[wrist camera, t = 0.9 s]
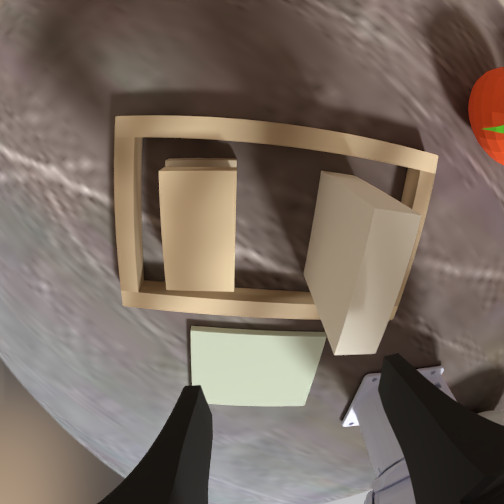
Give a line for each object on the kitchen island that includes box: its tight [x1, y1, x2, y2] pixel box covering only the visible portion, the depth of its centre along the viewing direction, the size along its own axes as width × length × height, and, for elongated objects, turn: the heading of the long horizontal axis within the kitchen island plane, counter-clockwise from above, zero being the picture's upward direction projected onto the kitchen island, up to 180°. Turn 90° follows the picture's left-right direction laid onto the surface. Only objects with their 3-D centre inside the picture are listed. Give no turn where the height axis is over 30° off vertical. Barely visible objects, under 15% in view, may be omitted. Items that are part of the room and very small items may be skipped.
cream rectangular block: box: [303, 171, 422, 355], centre depth 16 cm, size 2×7×8 cm, turn 174°
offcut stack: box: [159, 158, 237, 292], centre depth 18 cm, size 4×7×4 cm, turn 178°
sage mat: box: [191, 326, 327, 406], centre depth 24 cm, size 10×8×1 cm
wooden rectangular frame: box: [114, 115, 438, 320], centre depth 19 cm, size 19×12×2 cm, turn 84°
